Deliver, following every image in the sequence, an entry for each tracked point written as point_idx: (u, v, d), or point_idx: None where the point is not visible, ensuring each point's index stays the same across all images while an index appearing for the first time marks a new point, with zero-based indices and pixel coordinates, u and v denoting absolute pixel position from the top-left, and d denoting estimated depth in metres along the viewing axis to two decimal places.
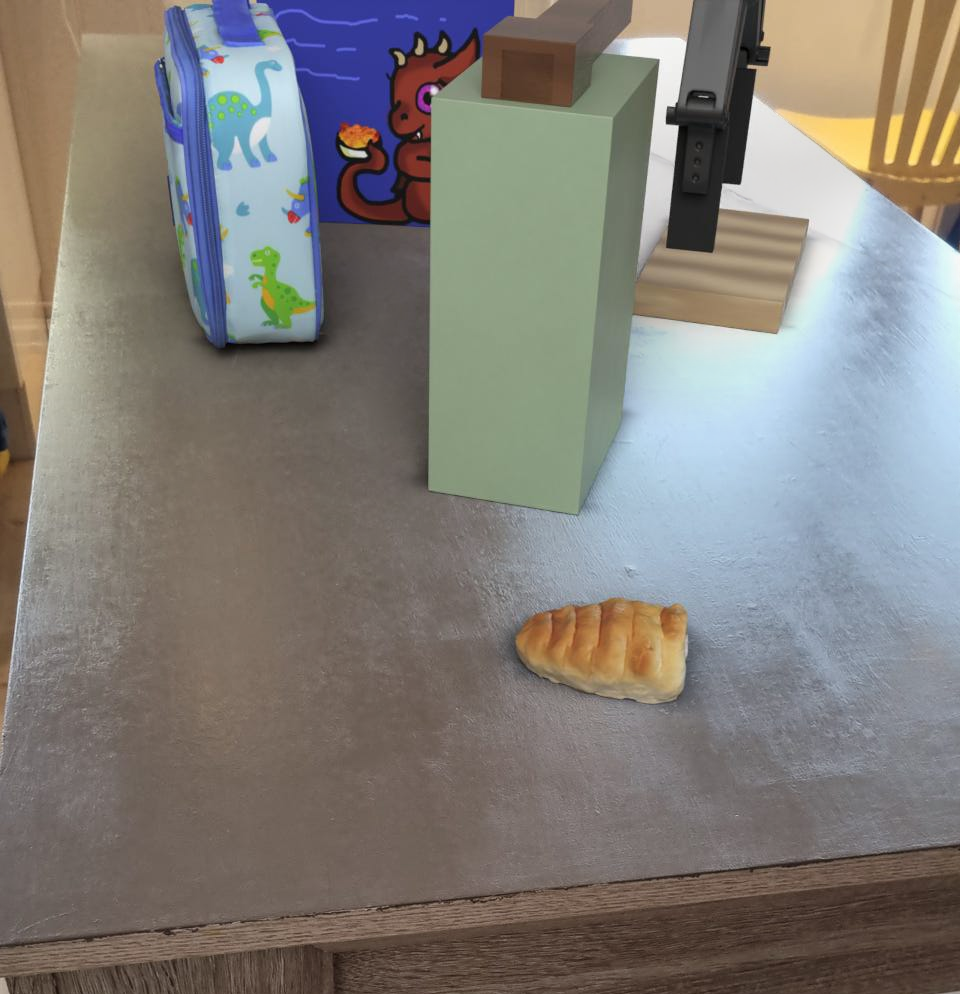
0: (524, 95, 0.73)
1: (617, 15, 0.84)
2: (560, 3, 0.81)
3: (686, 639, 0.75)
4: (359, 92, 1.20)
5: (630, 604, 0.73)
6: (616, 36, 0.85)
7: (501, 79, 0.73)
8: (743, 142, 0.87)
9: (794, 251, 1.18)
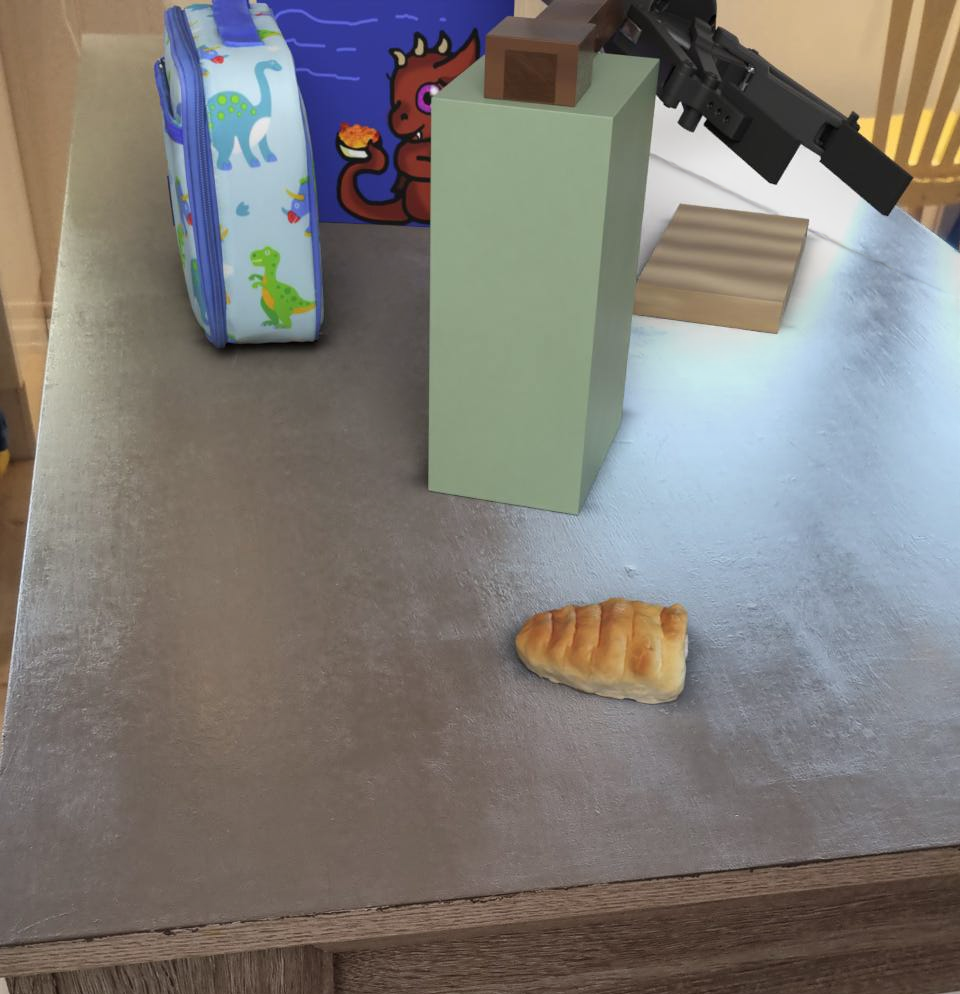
0: (527, 95, 0.73)
1: (612, 14, 0.84)
2: (557, 3, 0.81)
3: (686, 639, 0.75)
4: (359, 92, 1.20)
5: (630, 604, 0.73)
6: (611, 35, 0.85)
7: (504, 79, 0.73)
8: (881, 156, 0.90)
9: (794, 251, 1.18)
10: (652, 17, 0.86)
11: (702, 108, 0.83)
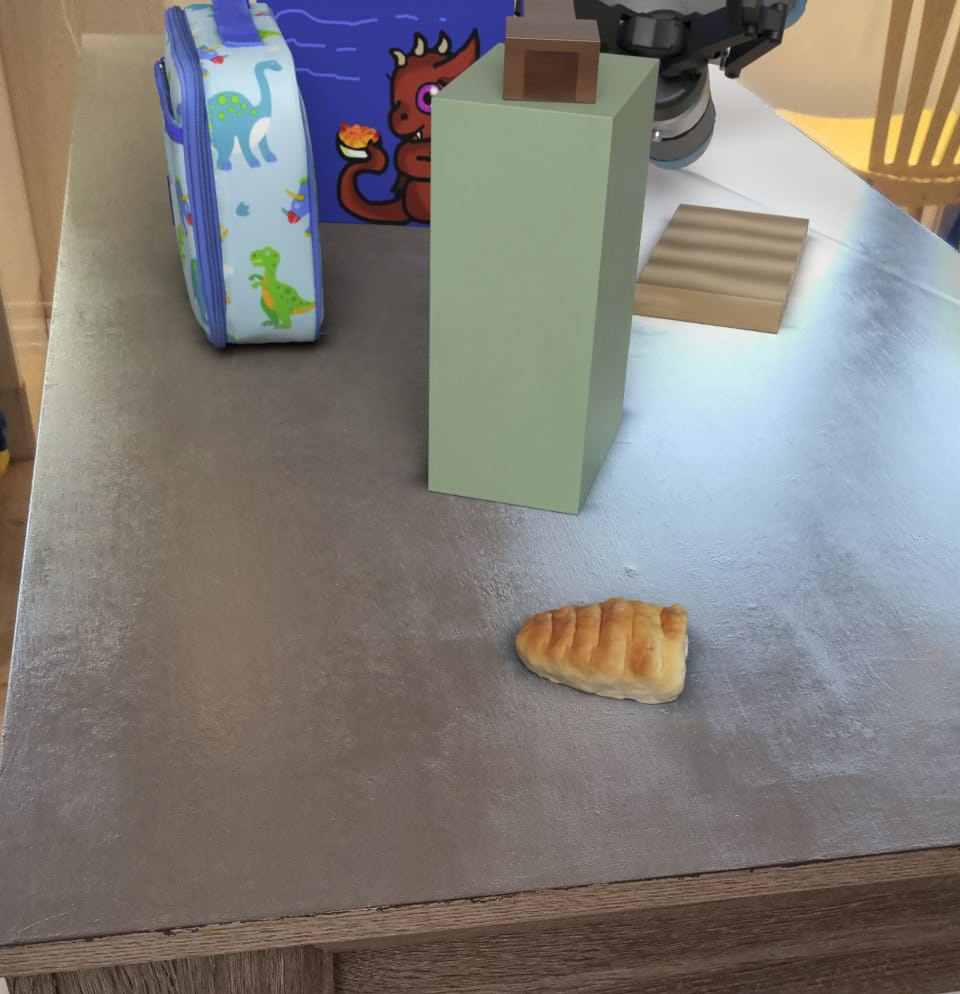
0: (547, 95, 0.73)
1: None
2: (529, 0, 0.81)
3: (686, 639, 0.75)
4: (359, 92, 1.20)
5: (630, 604, 0.73)
6: None
7: (524, 80, 0.73)
8: None
9: (794, 251, 1.18)
10: None
11: None
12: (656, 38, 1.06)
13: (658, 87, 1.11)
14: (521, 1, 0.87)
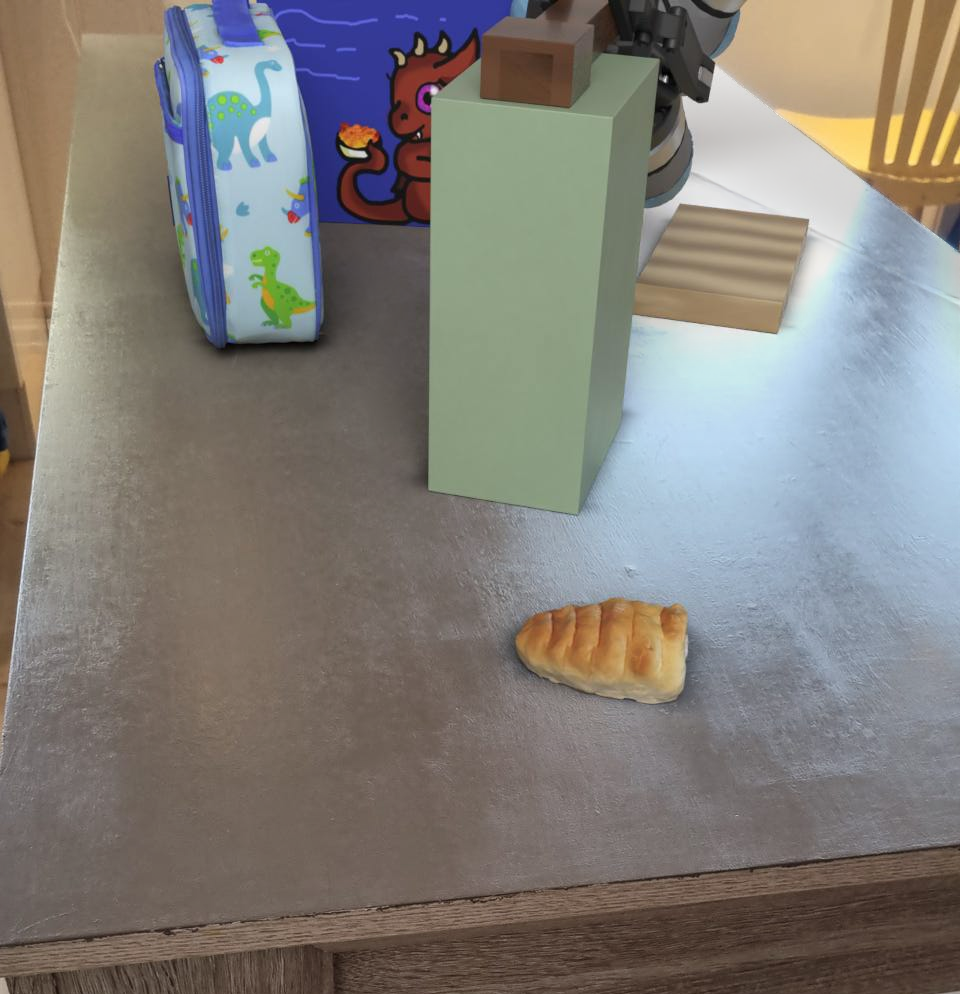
0: (523, 95, 0.73)
1: None
2: (559, 4, 0.80)
3: (686, 639, 0.75)
4: (359, 92, 1.20)
5: (630, 604, 0.73)
6: (615, 37, 0.85)
7: (500, 79, 0.73)
8: None
9: (794, 251, 1.18)
10: None
11: None
12: None
13: None
14: None
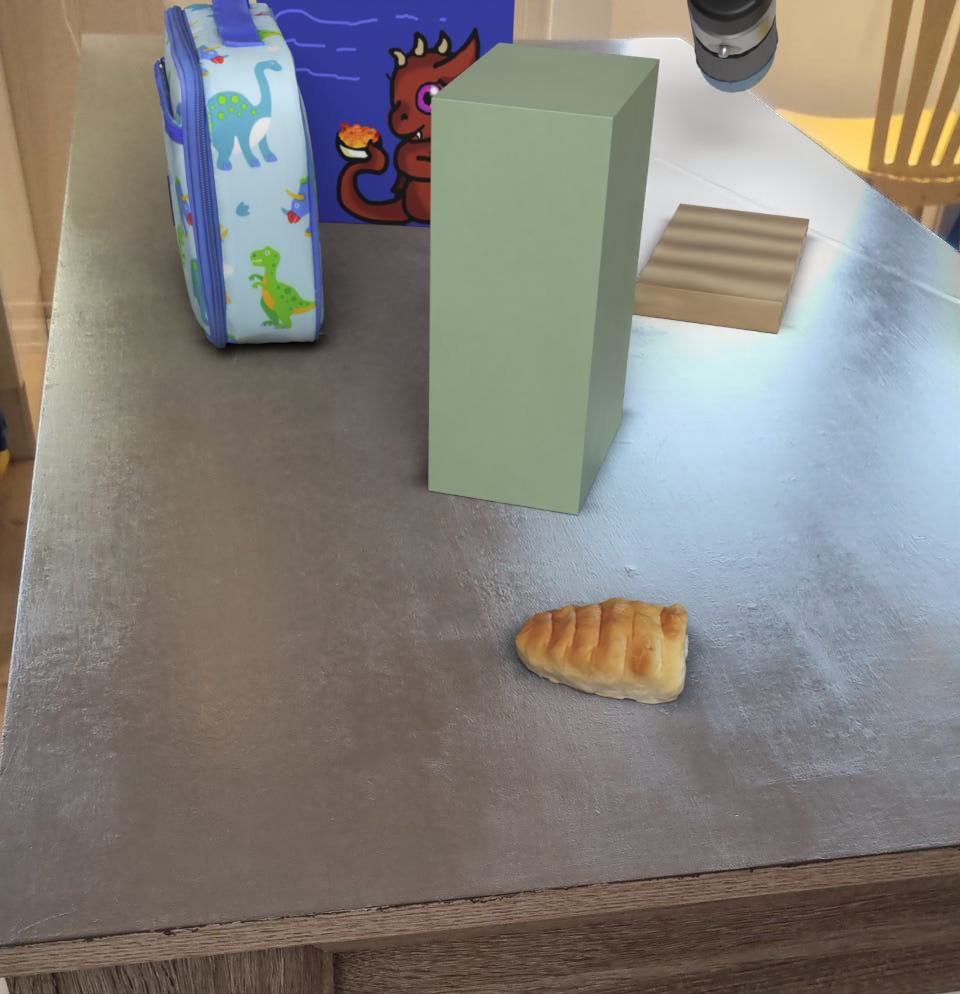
0: None
1: None
2: None
3: (686, 639, 0.75)
4: (359, 92, 1.20)
5: (630, 604, 0.73)
6: None
7: None
8: None
9: (794, 251, 1.18)
10: None
11: None
12: None
13: None
14: None
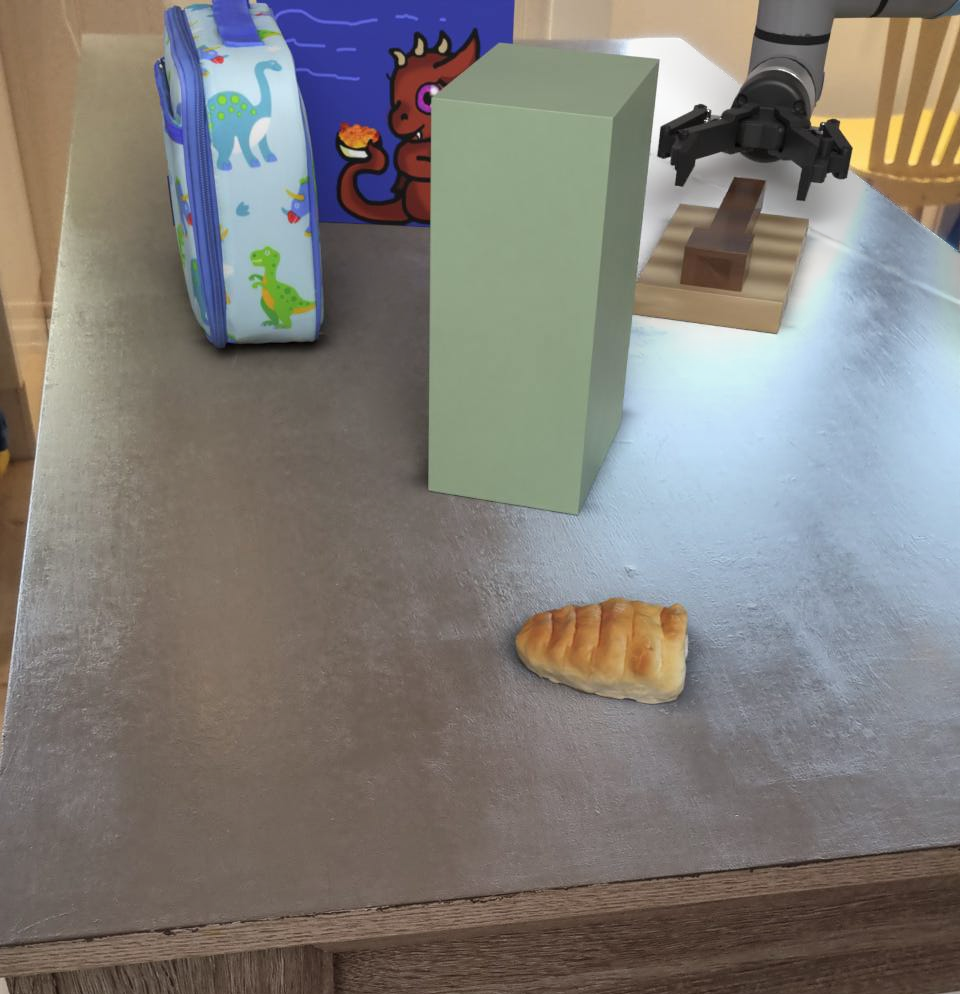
0: (709, 283, 1.11)
1: (757, 211, 1.22)
2: (722, 209, 1.18)
3: (686, 639, 0.75)
4: (359, 92, 1.20)
5: (630, 604, 0.73)
6: (755, 224, 1.23)
7: (695, 273, 1.10)
8: (804, 159, 1.17)
9: (794, 251, 1.18)
10: (702, 109, 1.28)
11: None
12: (762, 141, 1.27)
13: None
14: None
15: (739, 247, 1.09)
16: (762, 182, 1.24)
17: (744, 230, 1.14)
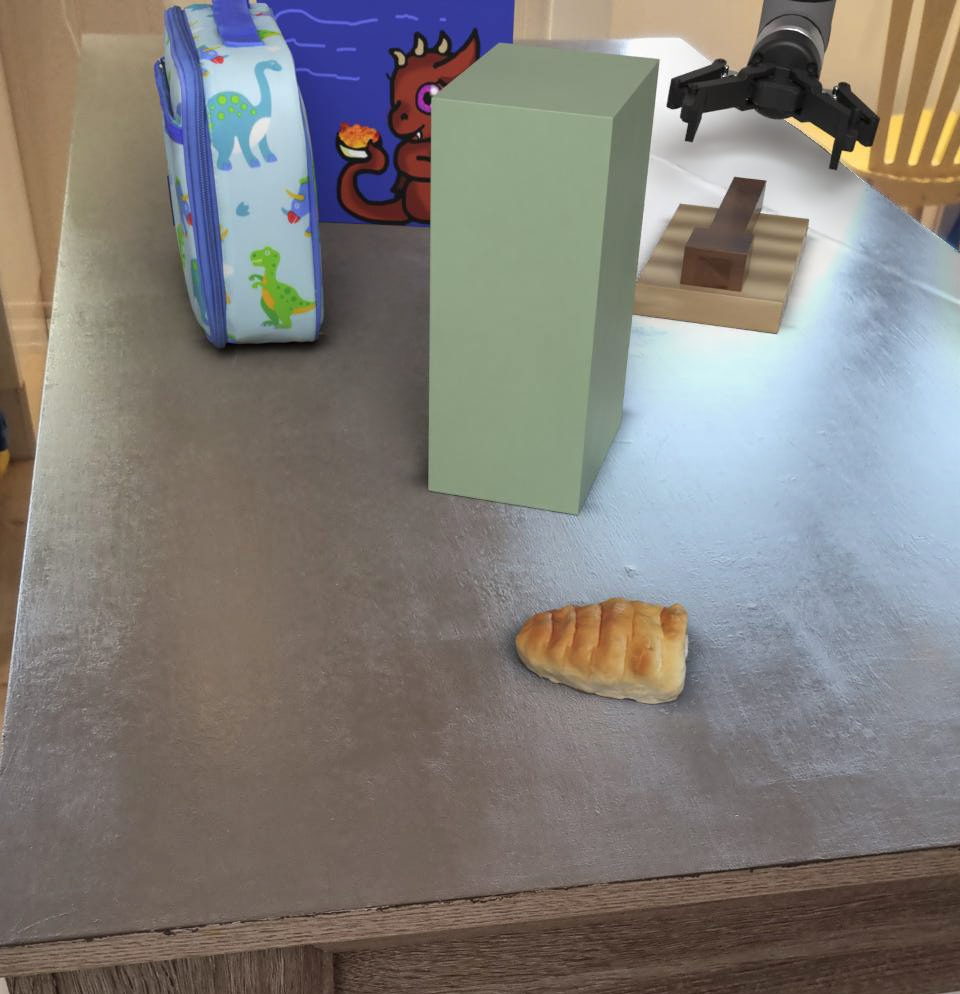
0: (709, 283, 1.11)
1: (757, 211, 1.22)
2: (722, 209, 1.18)
3: (686, 639, 0.75)
4: (359, 92, 1.20)
5: (630, 604, 0.73)
6: (755, 224, 1.23)
7: (695, 273, 1.10)
8: (838, 130, 1.26)
9: (794, 251, 1.18)
10: (721, 64, 1.36)
11: None
12: (777, 102, 1.34)
13: None
14: None
15: (739, 247, 1.09)
16: (762, 182, 1.24)
17: (744, 230, 1.14)
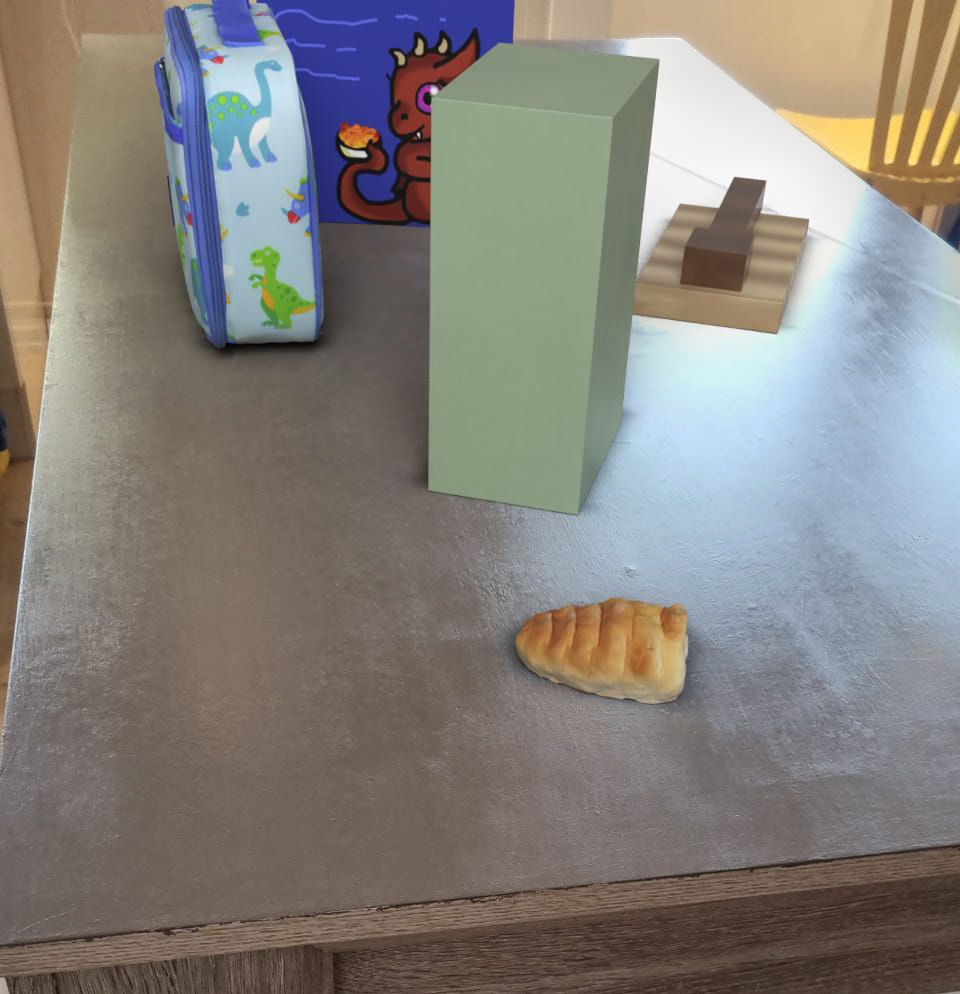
0: (709, 283, 1.11)
1: (757, 211, 1.22)
2: (722, 209, 1.18)
3: (686, 639, 0.75)
4: (359, 92, 1.20)
5: (630, 604, 0.73)
6: (755, 224, 1.23)
7: (695, 273, 1.10)
8: None
9: (794, 251, 1.18)
10: None
11: None
12: None
13: None
14: None
15: (739, 247, 1.09)
16: (762, 182, 1.24)
17: (744, 230, 1.14)
